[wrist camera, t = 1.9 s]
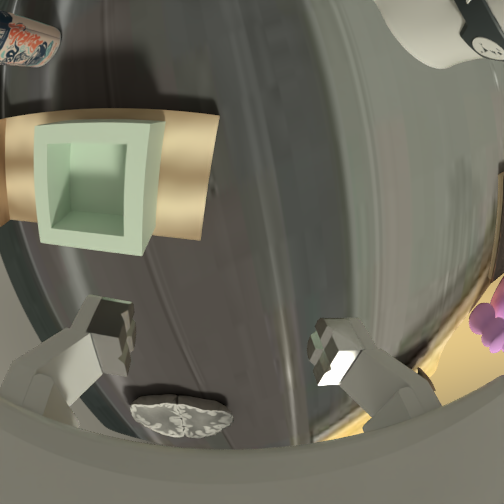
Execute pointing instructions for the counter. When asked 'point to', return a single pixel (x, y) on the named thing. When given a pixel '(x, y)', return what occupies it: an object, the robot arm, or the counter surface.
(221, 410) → the brain slice
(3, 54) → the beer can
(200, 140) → the board
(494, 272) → the hardcover book
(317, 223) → the counter surface
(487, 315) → the container set
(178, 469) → the robot arm
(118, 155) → the socket block
